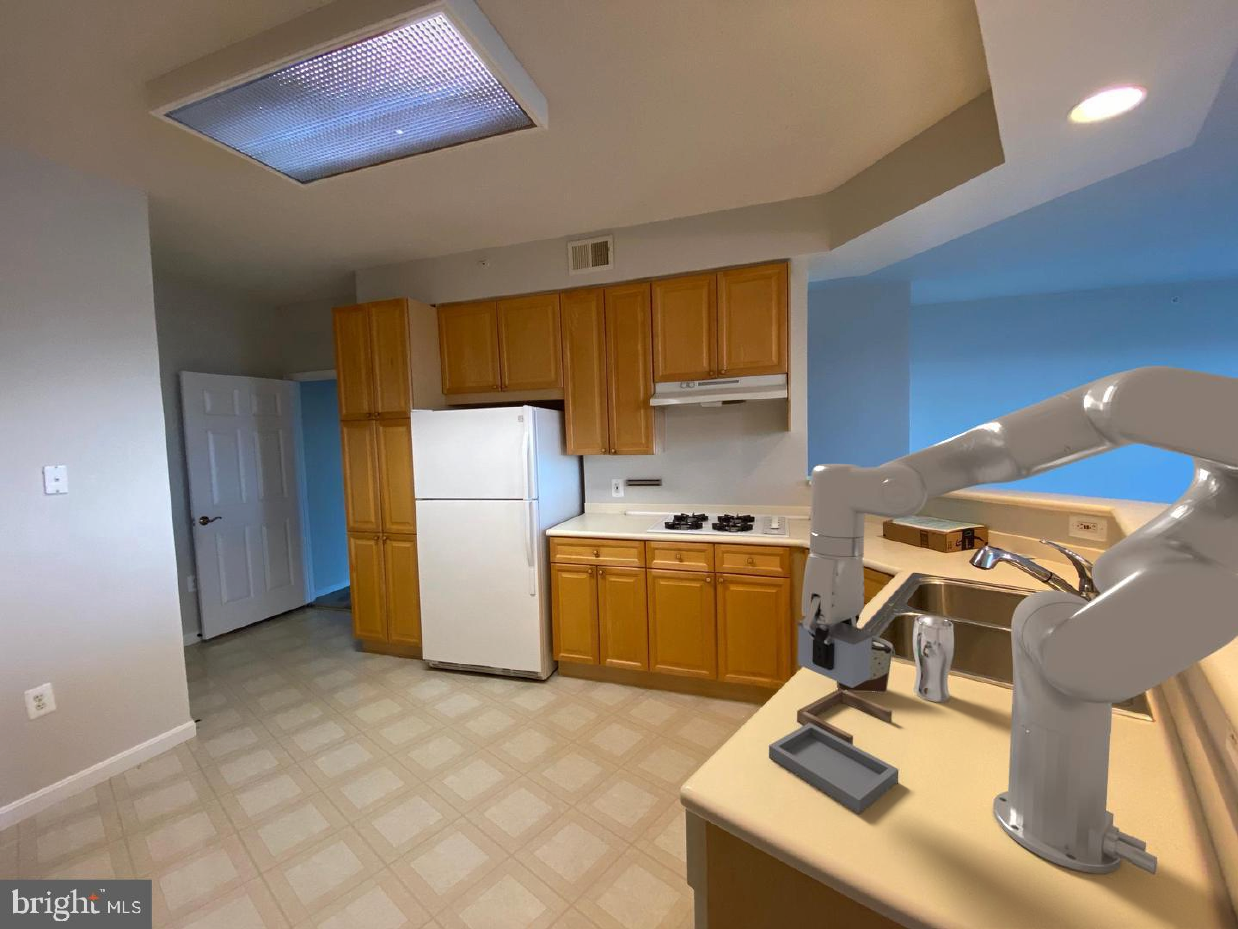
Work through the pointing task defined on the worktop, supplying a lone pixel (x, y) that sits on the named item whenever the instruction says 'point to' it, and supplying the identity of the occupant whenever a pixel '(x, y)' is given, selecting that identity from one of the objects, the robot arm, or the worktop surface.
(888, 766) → the tray
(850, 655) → the caddy
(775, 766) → the worktop surface
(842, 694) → the frame
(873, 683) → the food container
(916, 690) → the beer glass
